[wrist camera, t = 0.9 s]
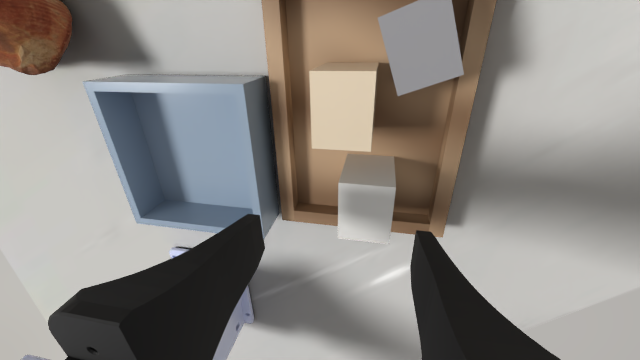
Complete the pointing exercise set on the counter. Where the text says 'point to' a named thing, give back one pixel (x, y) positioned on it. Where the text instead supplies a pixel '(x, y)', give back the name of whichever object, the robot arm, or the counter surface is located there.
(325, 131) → the cream cube
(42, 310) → the counter surface
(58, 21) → the bread loaf
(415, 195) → the tray
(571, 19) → the counter surface
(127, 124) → the dish
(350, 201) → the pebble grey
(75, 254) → the counter surface
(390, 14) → the matte stone cube
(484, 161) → the counter surface
